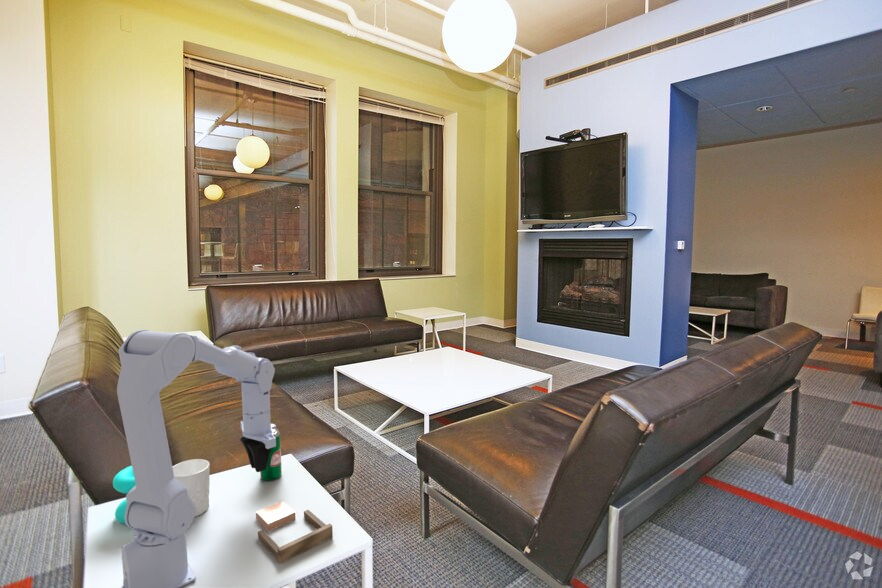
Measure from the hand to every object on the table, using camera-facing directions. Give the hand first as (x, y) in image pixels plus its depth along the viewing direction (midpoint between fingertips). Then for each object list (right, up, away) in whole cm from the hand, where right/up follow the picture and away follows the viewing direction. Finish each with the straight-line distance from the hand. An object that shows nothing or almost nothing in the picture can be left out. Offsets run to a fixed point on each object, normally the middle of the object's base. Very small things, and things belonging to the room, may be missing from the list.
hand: (258, 468), depth 104 cm
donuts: (-24, -9, -3) cm, 26 cm away
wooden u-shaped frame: (+11, -10, -10) cm, 18 cm away
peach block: (+6, -10, -5) cm, 12 cm away
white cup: (-14, -9, -2) cm, 17 cm away
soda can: (-2, -7, +13) cm, 15 cm away
